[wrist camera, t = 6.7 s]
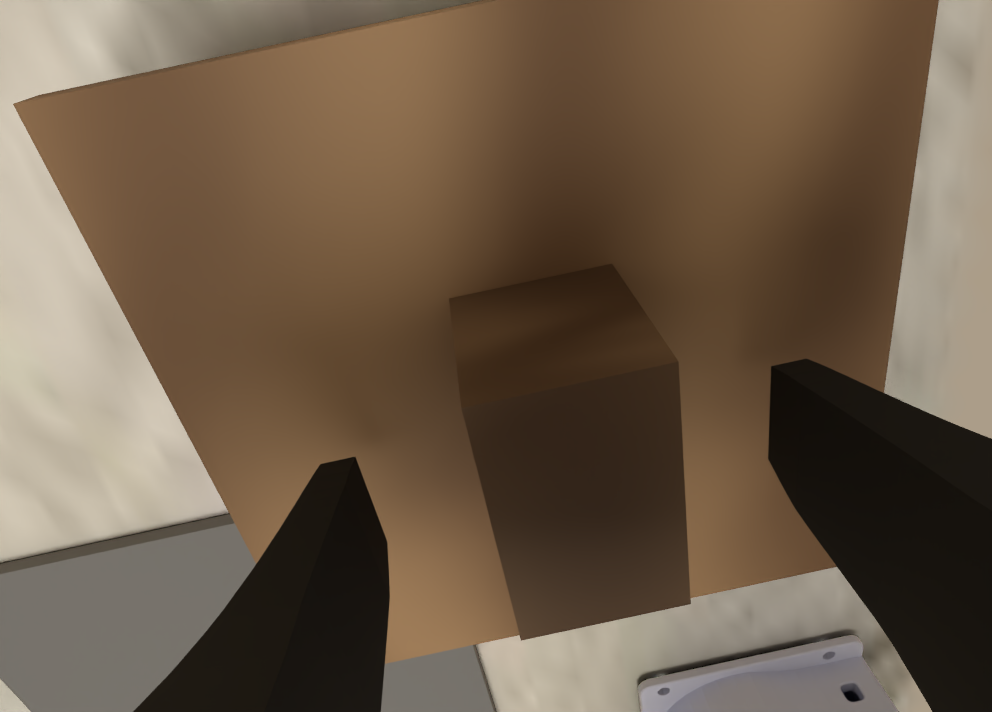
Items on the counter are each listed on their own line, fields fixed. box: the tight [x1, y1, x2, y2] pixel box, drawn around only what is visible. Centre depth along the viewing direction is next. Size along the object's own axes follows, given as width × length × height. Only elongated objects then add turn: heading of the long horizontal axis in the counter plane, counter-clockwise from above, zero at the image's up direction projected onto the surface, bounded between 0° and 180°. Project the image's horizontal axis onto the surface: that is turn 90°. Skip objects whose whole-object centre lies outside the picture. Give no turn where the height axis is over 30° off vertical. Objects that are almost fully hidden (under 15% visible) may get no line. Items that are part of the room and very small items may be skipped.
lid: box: [13, 0, 939, 664], centre depth 12 cm, size 14×14×4 cm
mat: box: [0, 514, 496, 712], centre depth 25 cm, size 16×16×1 cm
